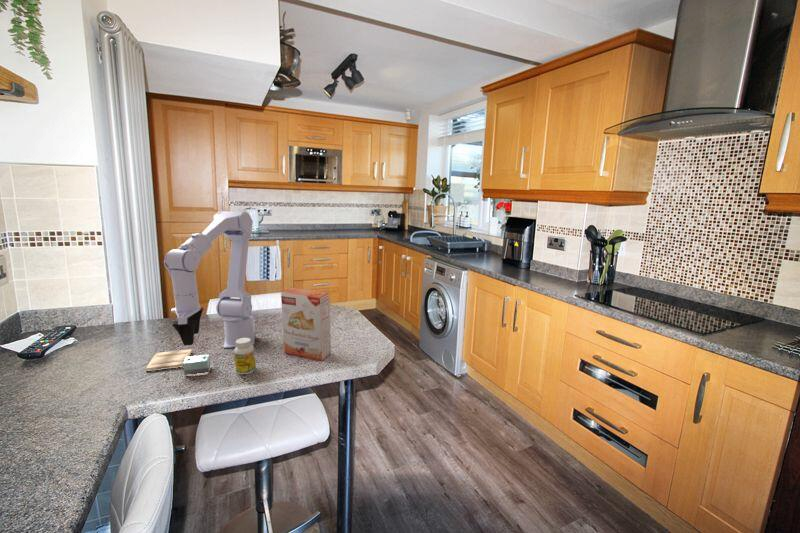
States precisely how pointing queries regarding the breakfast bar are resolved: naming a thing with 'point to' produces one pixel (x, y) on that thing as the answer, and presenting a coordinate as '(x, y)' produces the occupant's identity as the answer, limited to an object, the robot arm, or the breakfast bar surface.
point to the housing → (196, 364)
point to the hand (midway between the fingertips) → (191, 338)
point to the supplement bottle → (244, 356)
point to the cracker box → (306, 323)
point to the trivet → (168, 359)
